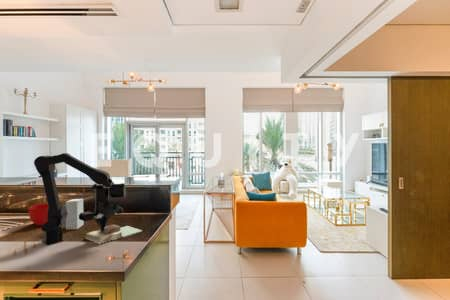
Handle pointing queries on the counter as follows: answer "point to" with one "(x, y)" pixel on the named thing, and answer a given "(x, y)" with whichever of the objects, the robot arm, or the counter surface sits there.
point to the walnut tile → (110, 229)
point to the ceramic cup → (38, 214)
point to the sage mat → (129, 231)
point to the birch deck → (102, 236)
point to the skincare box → (74, 213)
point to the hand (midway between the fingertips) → (101, 231)
